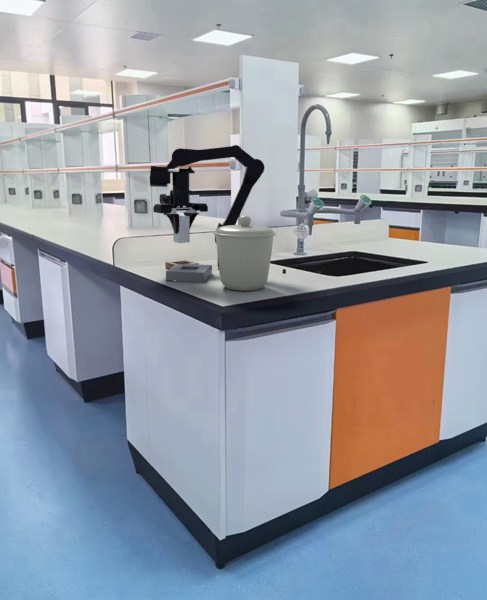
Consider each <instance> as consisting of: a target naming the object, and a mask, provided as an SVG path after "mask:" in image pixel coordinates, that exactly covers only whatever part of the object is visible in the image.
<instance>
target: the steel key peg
mask: <svg viewBox="0 0 487 600" xmlns="http://www.w3.org/2000/svg"><path fill="white" fill-rule="evenodd" d="M172 231H173V242H174V243H178V244H184V243H186V244H187V243H188V244H189V243H190V241H191V240H190V238H191V237H190V234H191V233H190V230H189V216H185V215H180V214H179V223H178V233H177V234H175V232H174V230H173V229H172Z"/></svg>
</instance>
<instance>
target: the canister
mask: <svg viewBox="0 0 487 600" xmlns="http://www.w3.org/2000/svg"><path fill="white" fill-rule="evenodd" d="M251 222H252V219H251V217H250V216H248V215H241V216H239V218H238V223H239V224H235V225H229V226H223V227H220V228H218V229H217V228H216V229H217V230H216V229H215V230H214V231H213V234H215V235H216V242H215V245H216V252H217V264H218V263H219V269H218V271H219V276H220V277H219V278H220V281H221V284H222V286H223V287H225V288H226V289H228V290H233V291H239V292H240V291H241V292H242V291H243V292H249V291H257V290H261V289H263V288H265V286H266V285H267V283H268V279H269V272H270V266H271V259H272V258H271V257H272V252H273V243H274V237H275V236H277V235H276V234H277V232H276V231H273V229H272V228H271V227H267V226H264V225H255V224H251ZM215 235H214V236H215Z"/></svg>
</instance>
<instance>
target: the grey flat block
mask: <svg viewBox="0 0 487 600" xmlns="http://www.w3.org/2000/svg"><path fill="white" fill-rule="evenodd" d="M212 275H213V265H212V264H199V265H198V264H176V265H174V266H173V267H171V268H170V269H168V268H167V270H166V271H165V281H166V280H176V281H175V282H182V281H193V282H192V283H205V282H206V281H207V280H208V279H207V278H210V277H211V276H212ZM205 280H206V281H205ZM194 281H195V282H194Z"/></svg>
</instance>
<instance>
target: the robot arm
mask: <svg viewBox="0 0 487 600" xmlns="http://www.w3.org/2000/svg"><path fill="white" fill-rule="evenodd" d="M229 158H234V159H235V160H236V161H238V163H240V164H241V165H242V166H243V167H244V168H245V169H244V173H243V178H242V182H241V185H240V187H239V189H238V191H237V194H236V196H235V197H234V201H233V203H232V205H231V207H230V209H229V211H228V213H227V216H226V218H225V220H224V221H223V222H222V223H220V222H218V224H217V226H216V229H215V231H216V230H217V229H218V228H220V227H223V226H229V225H237V222H238V221H239V218H240V217H241V216H240V215H241V213H242V210H243V209H244V207H245V204H246V202H247V200H248V198H249V196H250V194H251V191H252V189H253V187H254V185H255V184H256V183H257V182H258V181H259V179H260V178H261V177H262V175H263V173H264V171H265V165H264V162H263V161H262V160H261V159H258V158H254V157H253V156H251V154H249V153H248V152H246V151H245V150H244V149H242V147H241V146H240V145H237V144H235V145H231V146H223V147H222V146H221V147H213V148H205V149H204V148H203V149H191V148H176V149H175V150H174V151H173V152H172V154H171V160H170V161H169V163H167V166H156V165H150V172H149V186H150V187H152V188H153V187H155V188H157V187H159V188H162V187H163V188H167V187H168V185H172V189H170V192H169V195H167V194H166V193H161V194H160V195H159V197H158V198H159V203H155V204H153V205H154V206H153V209H152V210H153V213H157V214H163V215H164V216H166V217H167V218H168V220H169V221H170V224H171V226H172V231H173V230H174V232H175V234H177V233H178V223H179V215H180V214H179V213H177V212H178V211H180V212H181V211H183V214H184V215H185V216H189V231H190V230H191V227H192V225H193V223H194V221H195V219H196V217H198V215H199V214H200V213H207V212H209V205H208V204H207V203H206V202H190V201H191V200H190V199H191V198H190V195H191V194H192V191H193V190H190V174H195V173H196V171H195V170H193V168H192V166H189V165H192V164H196V163H198V162H201V161H202V162H204V161H211V160H213V161H214V160H222V159H229ZM186 166H189V167H188V168H186ZM178 167H185V168H178ZM177 168H178V171H171V170H175V169H177ZM171 175H172V176H171ZM171 177H172V179H171ZM171 181H172V184H171ZM184 211H185V212H184ZM198 211H199V212H200V213H199V212H198ZM213 234H214V233H213ZM214 242H215V243H216V235H215V234H214ZM217 267H218V268H217V269H218V270H219V263H218V262H217Z"/></svg>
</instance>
